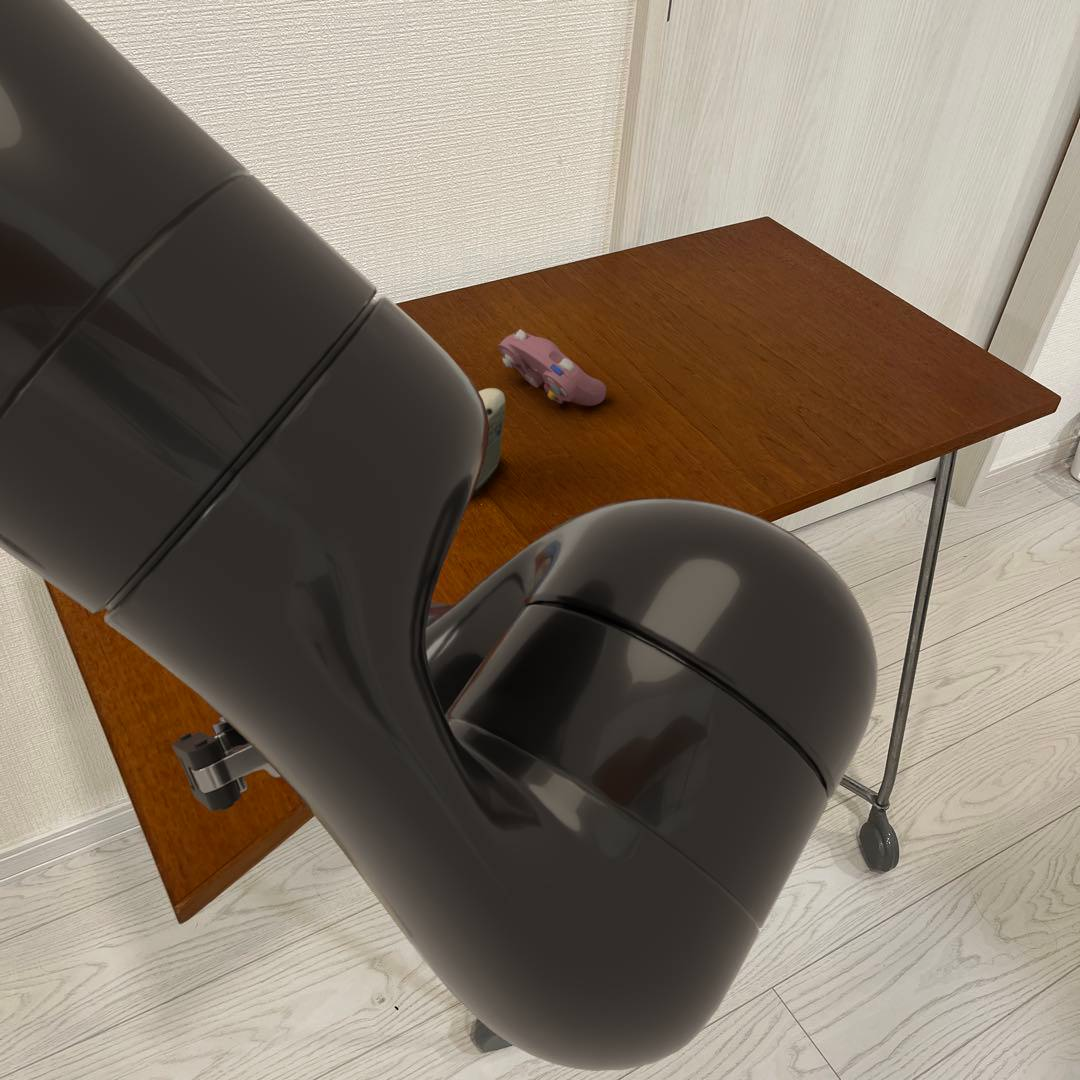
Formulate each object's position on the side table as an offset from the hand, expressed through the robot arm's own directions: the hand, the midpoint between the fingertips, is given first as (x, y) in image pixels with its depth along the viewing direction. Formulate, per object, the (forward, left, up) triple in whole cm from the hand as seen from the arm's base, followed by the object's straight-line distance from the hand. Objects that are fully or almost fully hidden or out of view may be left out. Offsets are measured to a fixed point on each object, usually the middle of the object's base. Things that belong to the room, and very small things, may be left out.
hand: (319, 694), depth 50 cm
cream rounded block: (+22, +26, -15) cm, 37 cm away
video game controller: (+34, +34, -15) cm, 50 cm away
